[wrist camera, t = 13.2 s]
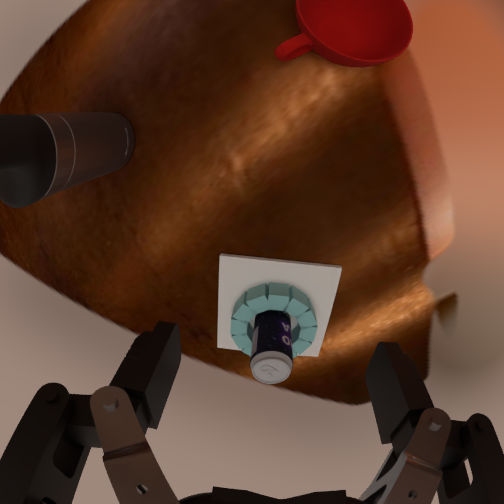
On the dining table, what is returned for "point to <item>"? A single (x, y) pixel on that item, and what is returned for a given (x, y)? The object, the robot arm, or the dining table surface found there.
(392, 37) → the ceramic cup
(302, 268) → the mat
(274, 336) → the beverage can
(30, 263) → the dining table surface
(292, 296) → the ring
